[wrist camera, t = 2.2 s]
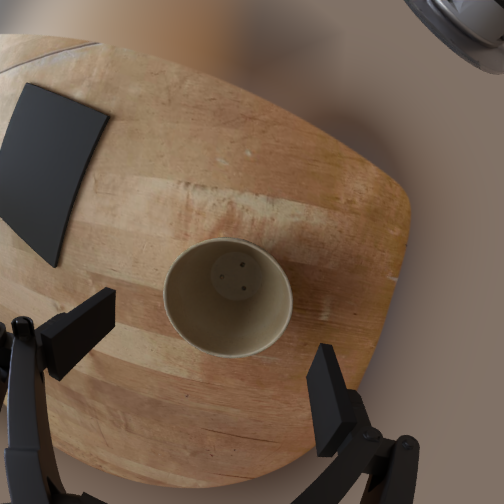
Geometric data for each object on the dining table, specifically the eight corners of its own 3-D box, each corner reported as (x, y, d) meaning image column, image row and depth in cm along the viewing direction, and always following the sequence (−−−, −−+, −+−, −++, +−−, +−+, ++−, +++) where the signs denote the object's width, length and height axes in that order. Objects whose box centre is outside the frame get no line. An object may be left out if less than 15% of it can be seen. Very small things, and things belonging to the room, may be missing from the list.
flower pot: (237, 336, 29) (227, 377, 22) (170, 271, 28) (140, 296, 21) (309, 278, 27) (320, 308, 20) (238, 202, 26) (225, 208, 19)
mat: (110, 116, 24) (107, 115, 24) (56, 267, 29) (54, 268, 29) (28, 83, 23) (26, 82, 23) (-10, 202, 28) (-13, 203, 28)
